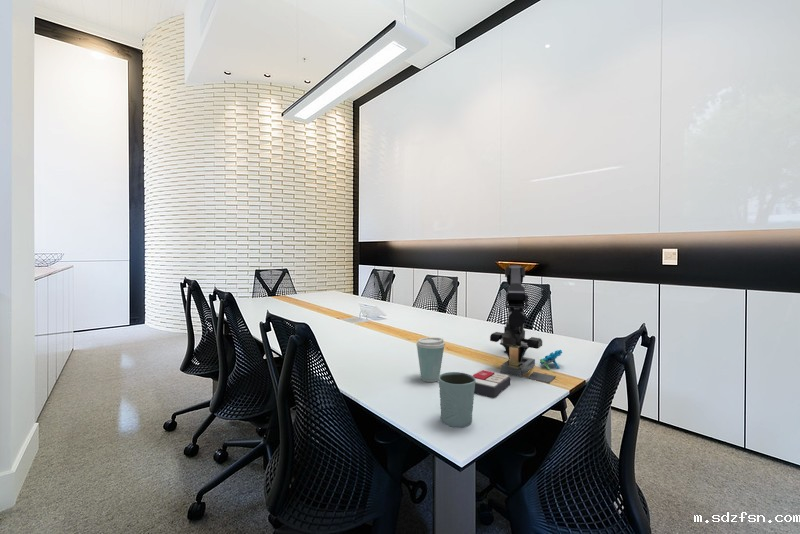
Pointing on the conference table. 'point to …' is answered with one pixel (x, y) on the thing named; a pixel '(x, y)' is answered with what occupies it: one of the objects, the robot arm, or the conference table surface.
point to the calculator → (490, 383)
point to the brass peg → (514, 355)
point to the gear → (551, 359)
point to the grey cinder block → (518, 371)
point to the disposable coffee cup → (430, 357)
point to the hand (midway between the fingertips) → (515, 361)
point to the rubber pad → (541, 377)
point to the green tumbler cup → (456, 398)
